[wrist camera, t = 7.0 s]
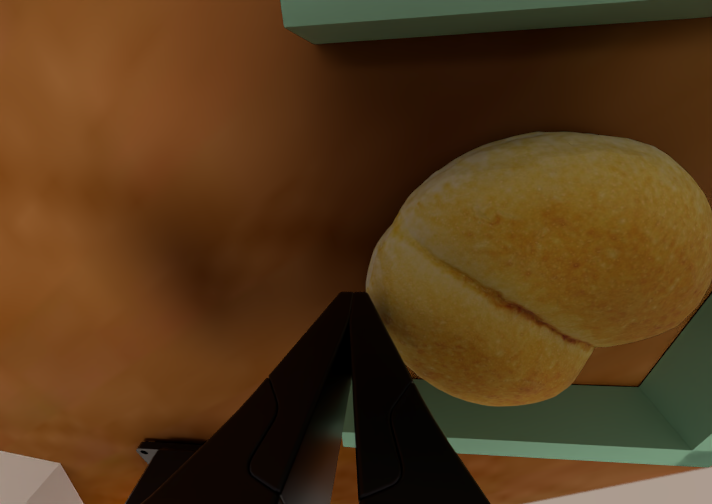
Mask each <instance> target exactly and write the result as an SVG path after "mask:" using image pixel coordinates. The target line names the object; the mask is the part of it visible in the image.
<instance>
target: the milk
mask: <svg viewBox="0 0 712 504" xmlns="http://www.w3.org/2000/svg"><path fill="white" fill-rule="evenodd" d="M0 504H84V503H83V502H82V500H81V498H80V496H79V495H78V493H77V491H76V490H75V488H74V486H73V484H72V483H71V481H70V479H69V478H68V476H67V474H66V473H65V471H64V469H63V467H62V466H61V464H60V463H56V462H52V461H47V460H42V459H37V458H32V457H27V456H23V455H18V454H13V453H8V452H3V451H0Z"/></svg>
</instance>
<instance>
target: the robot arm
mask: <svg viewBox="0 0 712 504" xmlns="http://www.w3.org/2000/svg"><path fill="white" fill-rule="evenodd" d="M351 380H352V392H353V410H354V428H355V446H356V464H357V482H358V499H359V504H490V502H489V501H488V499H487V498H486V496H485V495H484V493H483V492H482V490H481V489H480V487H479V486H478V484H477V483H476V481H475V480H474V478H473V477H472V475H471V474H470V473H469V471H468V470H467V468H466V467H465V465H464V464H463V462H462V461H461V459H460V458H459V456H458V455H457V453H456V452H455V450H454V449H453V447H452V446H451V444H450V443H449V441H448V440H447V438H446V437H445V435H444V433H443V432H442V430H441V429H440V427H439V426H438V424H437V422H436V421H435V419H434V418H433V416H432V414H431V412H430V410H429V409H428V407H427V405H426V403H425V402H424V400H423V398H422V396H421V394H420V392H419V390H418V388H417V386H416V385H415V383H413V379H412V377H411V375H410V373H409V371H408V369H407V367H406V365H405V364H404V362H403V360H402V358H401V356H400V354H399V352H398V350H397V348H396V346H395V344H394V342H393V340H392V338H391V336H390V334H389V333H388V331H387V329H386V327H385V325H384V323H383V321H382V319H381V317H380V315H379V313H378V311H377V309H376V307H375V305H374V303H373V302H372V300H371V298H370V296H369V294H368V293H367V292H355V293H353V292H341V293H339V294H338V295H337V297H336V298H335V299H334V300H333V301H332V302H331V304H330V305H329V306H328V307H327V308H326V309H325V311H324V312H323V313H322V314H321V315H320V316H319V318H318V319H317V320H316V321H315V322H314V323H313V325H312V326H311V327H310V328H309V329H308V330H307V332H306V333H305V334H304V335H303V336H302V337H301V339H300V340H299V341H298V342H297V343H296V344H295V346H294V347H293V348H292V349H291V350H290V351H289V353H288V354H287V355H286V356H285V357H284V358H283V360H282V361H281V362H280V363H279V364H278V365H277V367H276V368H275V369H274V370H273V371H272V372H271V374H270V375H269V378H266V379H265V380H264V382H263V383H262V384H261V385H260V386H259V387H258V389H257V390H256V391H255V392H254V393H253V394H252V395H251V396H250V398H249V399H248V400H247V401H246V402H245V403H244V404H243V405H242V406H241V408H240V409H239V410H238V411H237V412H236V413H235V414H234V415H233V416H232V417H231V418H230V419H229V420H228V421H227V422H226V423H225V424H224V425H223V426H222V427H221V428H220V429H219V430H218V431H217V432H216V433H215V434H214V435H213V436H212V437H211V438H210V439H209V440H208V441H207V442H206V443H205V444H204V445H193V444H176V443H159V442H141V443H140V445H139V446H138V448H137V450H136V451H137V452H138V454H139V455H140V456H141V457H142V458H143V459H144V460H145V461H146V462H147V463H148V466H147V468H146V469H145V471H144V473H143V474H142V476H141V478H140V479H139V481H138V483H137V484H136V486H135V488H134V489H133V491H132V493H131V494H130V496H129V498H128V499H127V501H126V503H125V504H330V500H331V494H332V488H333V483H334V477H335V471H336V466H337V460H338V454H339V448H340V443H341V437H342V431H343V426H344V420H345V414H346V409H347V403H348V397H349V391H350V386H351Z"/></svg>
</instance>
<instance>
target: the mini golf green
mask: <svg viewBox="0 0 712 504" xmlns="http://www.w3.org/2000/svg"><path fill="white" fill-rule="evenodd" d="M280 2H281V9H282V16H283V23H284V28H286V29H288V30H290V31H291V32H293V33H295V34H297V35H298V36H300V37H302V38H304V39H306V40H307V41H309V42H311V43H313V44H324V43H339V42H353V41H368V40H383V39H397V38H412V37H426V36H441V35H455V34H470V33H485V32H499V31H514V30H528V29H543V28H557V27H572V26H587V25H601V24H616V23H630V22H645V21H660V20H674V19H689V18H703V17H712V0H280ZM413 383H415V385H416V386H417V388H418V390H419V392H420V394H421V396H422V398H423V400H424V402H425V403H426V405H427V407H428V409H429V410H430V412H431V414H432V416H433V418H434V419H435V421H436V422H437V424H438V426H439V427H440V429H441V430H442V432H443V433H444V435H445V437H446V438H447V440H448V441H449V443H450V444H451V446H452V447H453V449H454V450H455V452H456V453H463V454H481V455H498V456H516V457H533V458H551V459H569V460H586V461H604V462H621V463H639V464H656V465H674V466H692V467H710V466H711V465H712V294H711V295H710V297H709V298H708V299H707V300H706V302H705V303H704V304H703V306H702V307H701V308H700V309H699V311H698V312H697V313H696V315H695V316H694V317H693V318H692V320H691V321H690V322H689V324H688V325H687V326H686V327H685V329H684V330H683V331H682V332H681V334H680V335H679V336H678V338H677V339H676V340H675V341H674V343H673V344H672V345H671V347H670V348H669V349H668V350H667V352H666V353H665V354H664V356H663V357H662V358H661V359H660V361H659V362H658V363H657V365H656V366H655V367H654V368H653V370H652V371H651V372H650V373H649V375H648V376H647V377H646V379H645V380H644V381H643V382H642V384H641V385H640V386H639V387H618V386H589V385H570V386H569V387H568V388H567V389H565V390H564V391H562V392H561V393H559V394H558V395H557V396H555V397H553V398H550V399H547V400H544V401H541V402H537V403H533V404H526V405H519V406H500V407H497V406H485V405H481V404H476V403H472V402H467V401H465V400H462V399H459V398H456V397H453V396H451V395H449V394H447V393H445V392H443V391H441V390H439V389H437V388H436V387H434V386H432V385H431V384H430V383H428V382H427V381H425V380H419V379H413ZM342 439H343V446H344V447H356V446H355V428H354V410H353V392H352V380H351V386H350V391H349V397H348V403H347V409H346V414H345V420H344V426H343V431H342Z"/></svg>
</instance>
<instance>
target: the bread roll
mask: <svg viewBox="0 0 712 504" xmlns="http://www.w3.org/2000/svg"><path fill="white" fill-rule="evenodd" d="M711 280H712V210H711V207H710V205H709V203H708V201H707V198H706V196H705V194H704V192H703V191H702V190H701V189H700V187H699V186H698V185H697V183H696V182H695V181H694V179H693V178H692V177H691V176H690V175H689V174H688V173H687V172H686V171H685V169H683V168H682V167H681V166H680V165H679V164H678V163H677V162H675V161H674V160H673V159H672V158H671V157H670V156H669V155H667V154H666V153H664V152H662V151H661V150H659V149H658V148H656V147H654V146H651V145H648V144H645V143H642V142H638V141H635V140H632V139H629V138H621V137H613V136H605V135H596V134H589V133H585V134H584V133H577V132H564V131H563V132H538V131H537V132H532V133H527V134H522V135H517V136H513V137H509V138H505V139H501V140H498V141H494V142H491V143H488V144H485V145H483V146H480V147H478V148H476V149H473V150H471V151H469V152H467V153H465V154H463V155H461V156H460V157H458V158H456V159H454V160H453V161H451V162H450V163H448V164H447V165H446V166H444V167H443V168H441V169H440V170H438V171H436V172H435V173H433V174H432V175H431V176H430V177H429V178H428V179H427V180H425V181H424V182H423V183H422V184H421V185H420V186H419V187H418V188H417V189H416V190H414V191H413V192H412V193H411V195H410V196H409V197H408V198H407V200H406V201H405V203H404V204H403V206H402V207H401V209H400V210H399V213H398V214H397V216H396V217H395V219H394V222H393V224H392V225H391V226H390V227H389V228H388V229H387V231H386V232H385V233H384V234H383V235H382V237H381V238H380V240H379V241H378V243H377V245H376V247H375V249H374V251H373V254H372V257H371V261H370V264H369V268H368V272H367V279H366V292H367V293H368V294H369V296H370V298H371V300H372V302H373V303H374V305H375V307H376V309H377V311H378V313H379V315H380V317H381V319H382V321H383V323H384V325H385V327H386V329H387V331H388V333H389V334H390V336H391V338H392V340H393V342H394V344H395V346H396V348H397V350H398V352H399V354H400V356H401V358H402V360H403V362H404V364H405V365H407V366H408V367H409V368H410V369H411V370H412V371H414V372H415V374H416V375H418V376H419V377H421V378H422V379H424V380H425V381H427V382H428V383H430V384H431V385H432V386H434V387H436V388H437V389H439V390H441V391H443V392H445V393H447V394H449V395H451V396H453V397H456V398H459V399H462V400H465V401H467V402H472V403H476V404H481V405H485V406H497V407H500V406H519V405H526V404H533V403H537V402H541V401H544V400H547V399H550V398H553V397H555V396H557V395H558V394H559V393H561V392H562V391H564V390H565V389H567V388H568V387H569V386H570V385H571V384H572V383H573V381H574V380H575V379H576V378H577V376H578V375H579V373H580V372H581V370H582V368H583V366H584V365H585V363H586V361H587V359H588V358H589V357H590V355H591V353H592V352H593V350H594V348H595V347H610V346H615V345H621V344H627V343H632V342H636V341H640V340H643V339H647V338H650V337H654V336H657V335H659V334H662V333H664V332H666V331H668V330H670V329H672V328H674V327H677V326H678V325H679V324H680V323H681V322H682V321H683V320H684V319H685V318H686V317H687V316H688V315H689V314H690V313H691V312H692V311H693V310H694V309H695V308H696V307H697V306H698V305H699V304H700V302H701V300H702V298H703V297H704V295H705V293H706V291H707V289H708V288H709V286H710V283H711Z"/></svg>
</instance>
